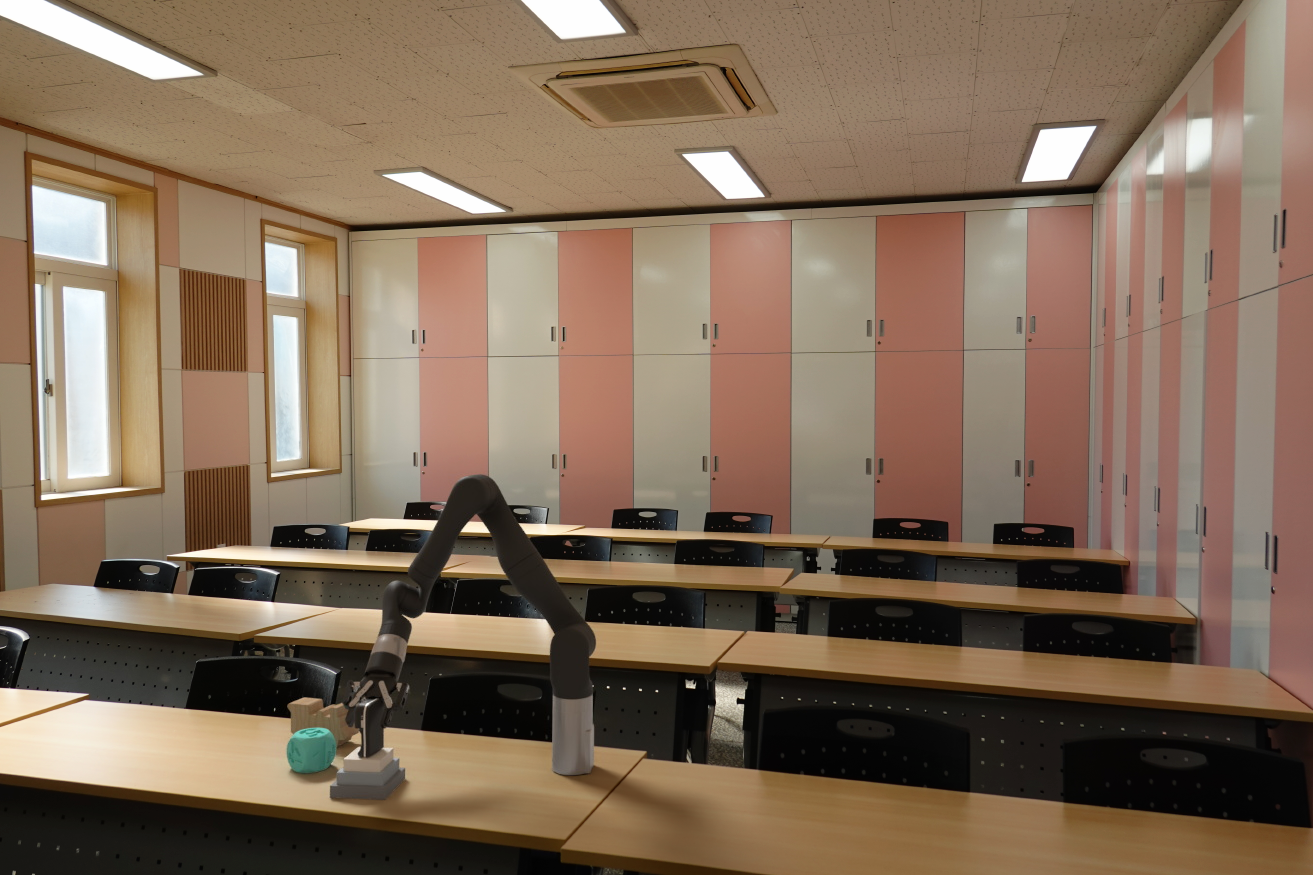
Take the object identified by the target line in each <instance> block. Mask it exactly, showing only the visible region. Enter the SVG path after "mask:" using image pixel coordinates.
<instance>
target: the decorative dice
mask: <svg viewBox="0 0 1313 875" xmlns="http://www.w3.org/2000/svg"><path fill="white" fill-rule="evenodd" d="M336 754H337V747H336V741H335V738H334V736H333V734H332V733H331V732H330V731H329V730H328V729H325V728H307V729H303V730H300V731H297V732H296V733H295V734H294V735H293V734H292V736H291V737H290V738H289V740H288V742H287V745H286V758H287V762H288V764H289V767H290V768H291V769H292V770H293V771H294V772H296V773H299V774H313V773H312V772H314V773H318V771H319V772H322V771H324V770H326V769H328V768H329V767H330V766H331V764H332V763H333V762H334V760H335V757H336Z"/></svg>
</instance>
